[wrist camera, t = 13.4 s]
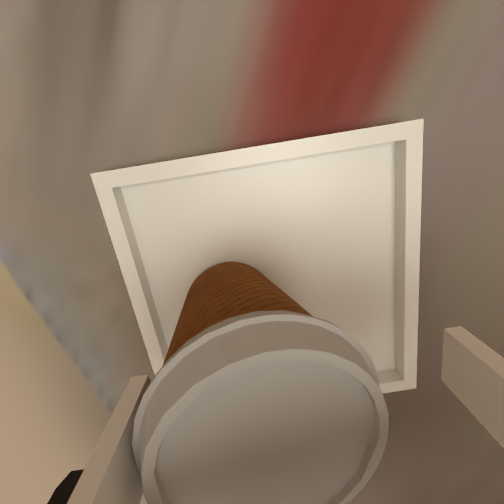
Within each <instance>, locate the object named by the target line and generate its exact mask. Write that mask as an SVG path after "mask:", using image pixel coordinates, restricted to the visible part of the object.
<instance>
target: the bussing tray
mask: <svg viewBox="0 0 504 504" xmlns="http://www.w3.org/2000/svg"><path fill="white" fill-rule="evenodd" d="M422 153H423V119H419V120H413V121H407V122H401V123H395V124H389V125H382V126H376V127H370V128H364V129H358V130H352V131H346V132H340V133H334V134H328V135H322V136H316V137H310V138H304V139H298V140H292V141H286V142H280V143H274V144H268V145H261V146H255V147H249V148H243V149H237V150H231V151H225V152H219V153H213V154H207V155H201V156H195V157H189V158H183V159H177V160H171V161H165V162H159V163H153V164H147V165H140V166H134V167H128V168H122V169H116V170H110V171H104V172H98V173H92V174H91V178H92V181H93V184H94V187H95V190H96V193H97V196H98V199H99V203H100V206H101V209H102V212H103V215H104V218H105V221H106V224H107V228H108V231H109V234H110V237H111V240H112V243H113V246H114V249H115V253H116V256H117V259H118V262H119V265H120V268H121V271H122V274H123V277H124V281H125V284H126V287H127V290H128V293H129V296H130V299H131V302H132V306H133V309H134V312H135V315H136V318H137V321H138V324H139V327H140V331H141V334H142V337H143V340H144V343H145V346H146V349H147V352H148V356H149V359H150V362H151V365H152V368H153V371H154V374H155V375H156V374H157V372H158V371H159V370H160V369H161V368H162V366H163V363H164V360H165V357H166V354H167V352H168V349H169V346H170V343H171V340H172V337H173V334H174V331H175V328H176V325H177V322H178V319H179V316H180V313H181V311H182V308H183V305H184V302H185V299H186V296H187V293H188V291H189V289H190V286H191V285H192V283H193V282H194V280H195V279H196V278H197V277H198V276H199V275H200V274H201V273H203V272H204V271H205V270H206V269H208V268H210V267H212V266H214V265H217V264H221V263H225V262H239V263H244V264H247V265H250V266H252V267H254V268H255V269H257V270H258V271H259V272H261V273H262V274H263V275H264V276H265V277H266V278H267V279H269V280H270V281H271V282H272V283H274V284H275V285H276V286H277V287H278V288H280V289H281V290H282V291H283V292H285V293H286V294H287V295H288V296H289V297H290V298H292V299H293V300H294V301H295V302H297V303H298V304H299V305H300V306H301V307H303V308H304V309H305V310H306V311H307V312H309V313H310V314H311V315H312V316H313V317H316V318H319V319H323V320H327V321H330V322H331V323H333V324H334V325H336V326H338V327H339V328H341V329H342V330H344V331H345V332H347V333H349V334H350V335H351V336H352V337H353V338H354V339H355V340H356V341H357V342H359V343H360V344H361V345H362V346H363V348H364V349H365V351H366V352H367V354H368V355H369V357H370V358H371V360H372V361H373V364H374V367H375V369H376V372H377V375H378V380H379V388H380V390H381V392H382V394H383V393H390V392H396V391H403V390H409V389H416V382H417V344H418V305H419V267H420V229H421V191H422Z"/></svg>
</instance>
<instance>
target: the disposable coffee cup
mask: <svg viewBox="0 0 504 504" xmlns="http://www.w3.org/2000/svg"><path fill="white" fill-rule="evenodd" d="M388 433H389V413H388V409H387V406H386V402H385V399H384V396H383V394H382V392H381V390H380V388H379V380H378V375H377V372H376V369H375V367H374V364H373V361H372V360H371V358H370V357H369V355H368V354H367V352H366V351H365V349H364V348H363V346H362V345H361V344H360V343H359V342H357V341H356V340H355V339H354V338H353V337H352V336H351V335H350V334H349V333H347V332H345V331H344V330H342V329H341V328H339V327H338V326H336V325H334V324H333V323H331V322H330V321H327V320H323V319H319V318H316V317H313V316H312V315H311V314H310V313H309V312H307V311H306V310H305V309H304V308H303V307H301V306H300V305H299V304H298V303H297V302H295V301H294V300H293V299H292V298H290V297H289V296H288V295H287V294H286V293H285V292H283V291H282V290H281V289H280V288H278V287H277V286H276V285H275V284H274V283H272V282H271V281H270V280H269V279H267V278H266V277H265V276H264V275H263V274H262V273H261V272H259V271H258V270H257V269H255V268H254V267H252V266H250V265H247V264H244V263H239V262H225V263H221V264H217V265H214V266H212V267H210V268H208V269H206V270H205V271H204V272H203V273H201V274H200V275H199V276H198V277H197V278H196V279H195V280H194V282H193V283H192V285H191V286H190V289H189V291H188V293H187V296H186V299H185V302H184V305H183V308H182V311H181V313H180V316H179V319H178V322H177V325H176V328H175V331H174V334H173V337H172V340H171V343H170V346H169V349H168V352H167V354H166V357H165V360H164V363H163V366H162V368H161V369H160V370H159V371H158V372H157V374H156V375H155V376H154V377H153V379H152V380H151V382H150V384H149V386H148V387H147V389H146V391H145V393H144V395H143V397H142V400H141V402H140V405H139V408H138V410H137V413H136V416H135V419H134V428H133V439H132V447H133V452H134V457H135V462H136V466H137V468H138V470H139V472H140V474H141V477H142V485H143V494H144V496H145V498H146V500H147V503H148V504H348V503H349V502H350V501H351V500H352V499H353V498H354V497H355V496H356V495H357V494H358V493H359V492H360V491H361V490H362V489H363V488H364V486H365V485H366V484H367V482H368V481H369V480H370V478H371V477H372V476H373V474H374V472H375V470H376V468H377V467H378V465H379V463H380V460H381V458H382V455H383V453H384V450H385V448H386V443H387V438H388Z"/></svg>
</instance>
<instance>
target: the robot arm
mask: <svg viewBox="0 0 504 504" xmlns="http://www.w3.org/2000/svg"><path fill="white" fill-rule="evenodd" d="M441 380H442V381H443V382H444V384H445V385H446V386H447V387H448V388H449V389H450V390H451V391H452V392H453V393H454V394H455V396H456V397H457V398H458V399H459V400H460V401H461V402H462V403H463V404H464V405H465V407H466V408H467V409H468V410H469V411H470V412H471V413H472V414H473V415H474V416H475V418H476V419H477V420H478V421H479V422H480V423H481V424H482V425H483V426H484V427H485V428H486V430H487V431H488V432H489V433H490V434H491V435H492V436H493V437H494V438H495V439H496V441H497V442H498V443H499V444H500V445H501V446H502V447H503V448H504V358H503V357H502V356H501V355H499V354H498V353H497V352H495V351H494V350H493V349H491V348H490V347H489V346H487V345H486V344H485V343H483V342H482V341H481V340H479V339H478V338H477V337H475V336H474V335H473V334H471V333H470V332H469V331H467V330H466V329H465V328H463V327H462V326H458V327H452V328H445V329H444V334H443V352H442V370H441ZM150 382H151V381H150V378H149V375H142V376H135V377H131V379H130V381H129V383H128V385H127V386H126V388H125V390H124V392H123V394H122V396H121V398H120V400H119V402H118V404H117V406H116V408H115V410H114V412H113V414H112V416H111V418H110V420H109V422H108V424H107V426H106V428H105V430H104V432H103V434H102V436H101V437H100V440H99V442H98V444H97V445H96V447H95V449H94V451H93V453H92V455H91V457H90V459H89V461H88V463H87V465H86V467H85V469H83V470H76V471H71V472H70V473H69V474H68V476H67V477H66V478H65V479H64V480H63V481H62V482H61V484H60V485H59V486H58V487H57V488H56V489H55V491H54V493H53V495H52V497H51V498H50V500H49V502H48V503H47V504H139V503H140V500H141V496H142V493H143V485H142V477H141V474H140V472H139V470H138V468H137V466H136V462H135V457H134V452H133V447H132V439H133V428H134V419H135V416H136V413H137V410H138V408H139V405H140V402H141V400H142V397H143V395H144V393H145V391H146V389H147V387H148V386H149V384H150Z"/></svg>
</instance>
